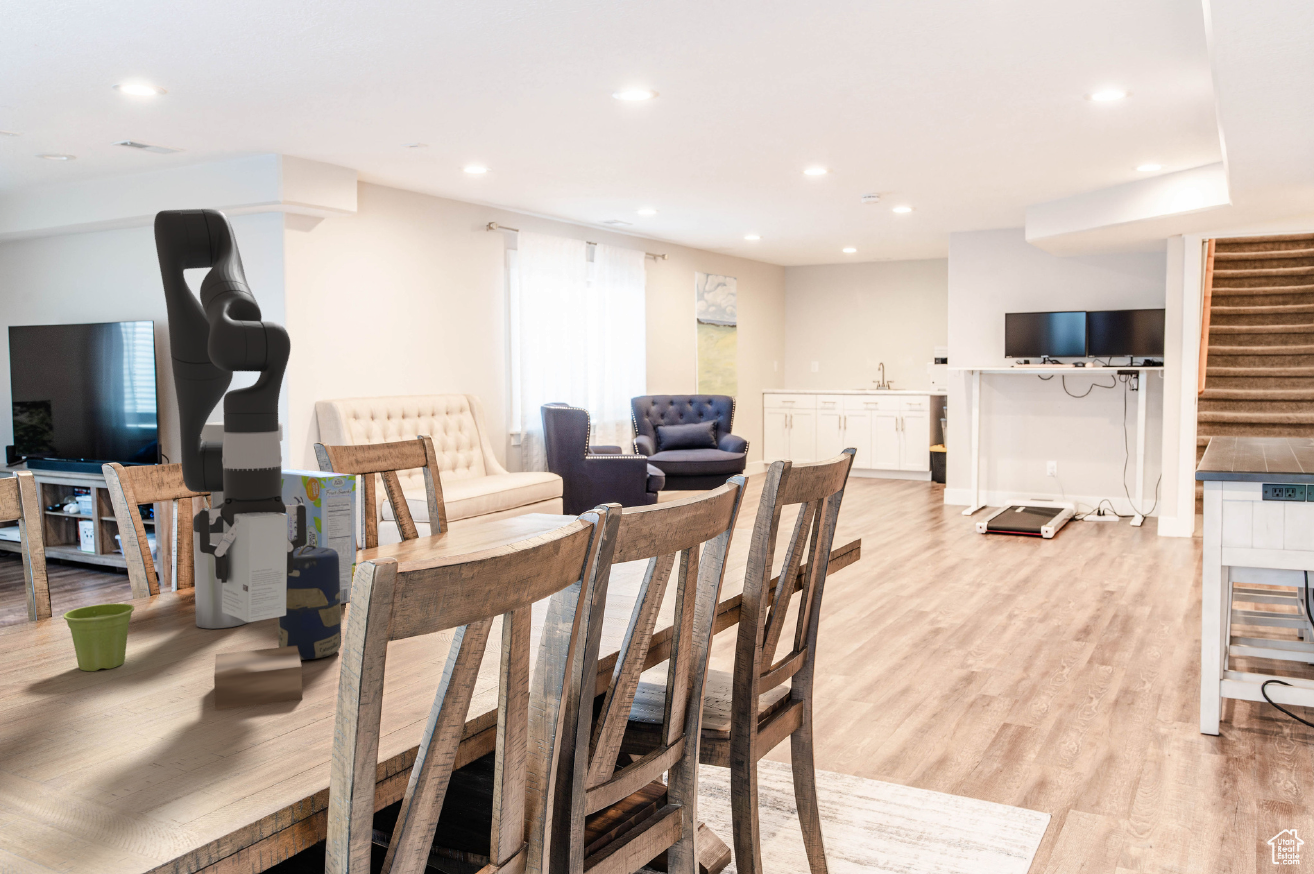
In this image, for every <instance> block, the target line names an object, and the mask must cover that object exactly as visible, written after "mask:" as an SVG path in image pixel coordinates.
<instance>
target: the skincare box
mask: <svg viewBox="0 0 1314 874" xmlns="http://www.w3.org/2000/svg"><path fill="white" fill-rule="evenodd" d="M236 520H237V523H236V528H235V529H236V538H235V539H234V540H233V542H232V543H231V544H230V546H229V547H228V549H227V550H226V552H225V554H226V558H227V583H222V612H223V613H225V614H228V615H231V616H234V617H237V618H239V619H241V620H243V621H245V622H248V623H252V622H253V623H254V622H257V621H264V620H268V619H269V620H270V619H275V618H278V617H281V616H285V615H286V586H287V530H288V515H286V514H283V513H277V512H268V513H262V514H261V513H259V512H255V513H246V514H242V515H241V513H240V514H235V515H234V523H235V521H236ZM230 528H231V527H230V526H229V525H228V524H227V523H226V522H225V521H224V526H223V536H224V534H225V533H226V532H227V533H228V531H229V530H230ZM232 535H233V533H232Z"/></svg>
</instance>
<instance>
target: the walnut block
mask: <svg viewBox="0 0 1314 874" xmlns="http://www.w3.org/2000/svg"><path fill="white" fill-rule="evenodd" d="M301 661H302V660H300V656H299V652H298V647H297V646H288V647H279V646H278V647H272V648H271V647H270V648H263V649H255V650H254V649H253V650H245V651H244V650H243V651H236V652H234V651H233V652H227V653H218V654H215V662H214V675H213V677H214V678H213V679H214V681H213V682H214V683H213V684H214V711H215V712H217V711H223V710H232V709H239V708H247V707H255V706H262V705H263V706H264V705H271V704H278V703H284V702H292V701H301V700H303V670H302V669H303V668H302V667H303V666H302V662H301Z"/></svg>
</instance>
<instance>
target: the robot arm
mask: <svg viewBox="0 0 1314 874" xmlns="http://www.w3.org/2000/svg"><path fill="white" fill-rule="evenodd" d="M153 227H154V229H153V233H154V241H155V247H156V253H157V259H158V264H159V269H160V270H159V271H160V276H161V281H162V286H163V291H164V293H163V294H164V297H165V298H164V299H165V304H166V312H167V323H168V324H167V325H168V334H169V335H168V336H169V348H170V349H169V350H170V359H171V360H170V361H171V369H172V375H173V381H174V387H175V394H176V402H177V406H178V407H177V408H178V416H179V433H180V435H179V436H180V438H179V439H180V460H181V474H182V478H183V482H184V485H185V487H186V488H187V489H186V490H188V491H190V492H193V493H211V492H224V502H223V503H222V504H220V505H218V506H216V507H214V508H211V507H210V508H207V507H202V508H201V509H200V510H199V512H198V513H196V514H195V515H194V516H193V520H192V529H193V531H192V533H193V561H194V562H193V563H194V564H193V565H194V567H193V568H194V592H195V593H194V595H195V602H194V603H195V625H196V627H198V628H203V629H225V628H232V627H237V626H242V625H245V624H247V623H249V622H245V621H243V620H241V619H239V618H237V617H234V616H231V615H228V614H225V613H223V612H222V583H227V558H226V554H225V552H226V550H227V549H228V547H229V546H230V544H231V543H232V542H233V540H234V539H235V538H236V529H235V528H236V523H237V520H236V521H235V523H234V515H235V514H240V513H241V515H242V514H246V513H255V512H259V513H261V514H262V513H268V512H277V513H283V514H285V513H289V514H290V516H291V518H292V519H293V520H296V529H297V538H295V539H292V540H289V538H288V537H287V578H289V573H293V570H294V561H293V552H294V550H295V549H296V548H299V547H301V546H305V545H306V543H307V534H306V507H305V505H304V504H303V503H298V504H297V505H285V504H284V503H283V501H282V473H281V470H282V461H283V456H282V448H281V447H282V444H281V441H280V439H279V432H278V430H279V427H278V422H279V400H280V393H281V388H282V382H283V378H284V375H285V372H286V370H287V369H286V368H287V365H288V362H289V359H290V354H291V345H292V344H291V338H290V335H289V333H288V331H287V330H286V328H285V327H284V326H283V325H281V324H280V323H279V322H274V321H263V320H262V311H261V308H260V307H259V304H258V302H257V300H256V298H255V296H254V294H253V293H252V290H251V288H250V286H249V284H248V281H247V279H246V275H245V270H244V265H243V260H242V257H241V254H240V250H239V247H238V243H237V239H236V236H235V233H234V229H233V226H232V224H231V222H230V219H229V218H228V217H227V216H226V214H225V213H224V212H222V211H221V210H218V209H212V208H201V209H200V208H199V209H197V208H195V209H191V208H190V209H189V208H187V209H186V208H185V209H167V210H165V209H164V210H160V211H158V212H157V213H156V215H155V217H154V224H153ZM207 268H208V269H209V268H210V270H209V271H208V272H207V274H206V275H205V276H204V278H203V280H202V282H201V285H200V287H199V299H200V301H199V300H198V299H197V297H196V296H195V294H194V293H193V292H192V290H191V289H190V287H189V285H188V284H187V281H186V279H185V276H184V275H185V274H184V271H185V270H191V269H193V270H194V269H207ZM234 372H254V373H255V372H257V373H259V372H260V373H259V377H258V379H257V381H256V382H255V383H254V384H252V385H251V386H246V387H241V388H236V389H233V390H229V391H228V389H229V387H230V385H231V384H232V381H233V378H234V377H233V376H234ZM227 391H228V392H227ZM223 397H224V398H223ZM221 399H223V406H222V407H223V422H224V432H225V433H224V441H202V439H201V433H202V430H203V427H204V425H205V423H207V421H208V419H209V417H210V415H211V413H212V412H213V411H214V409H215V408H216V406H217V405H218V404H219V402H220V401H221ZM224 521H225V522H226V523H227V524H228V525H229V526H230V527H231V528H230V530H229V531H228V533H227V532H226V533H225V534H224V536H223V526H224ZM232 533H233V535H232Z"/></svg>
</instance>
